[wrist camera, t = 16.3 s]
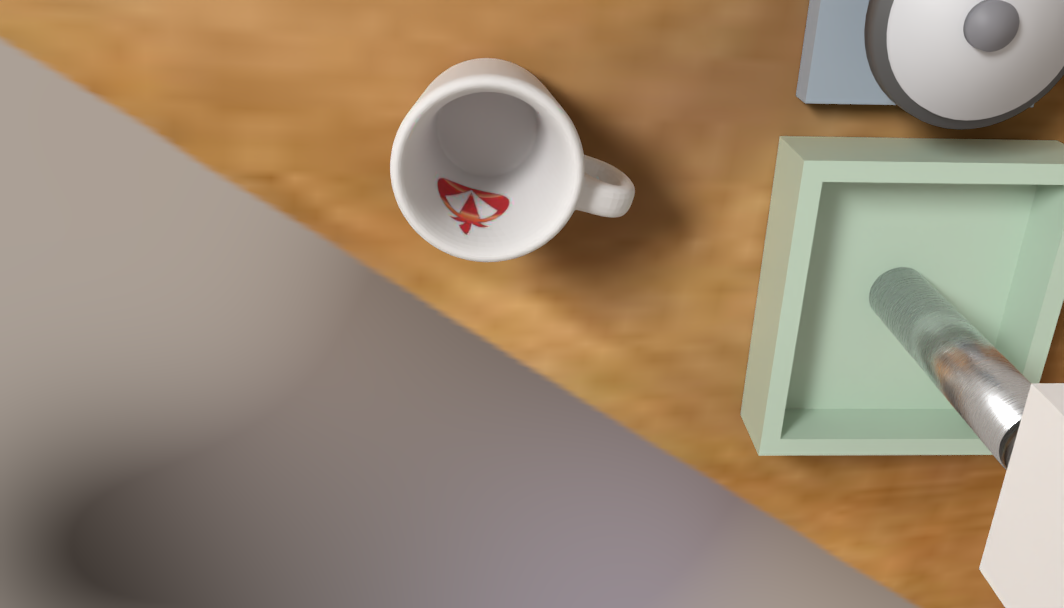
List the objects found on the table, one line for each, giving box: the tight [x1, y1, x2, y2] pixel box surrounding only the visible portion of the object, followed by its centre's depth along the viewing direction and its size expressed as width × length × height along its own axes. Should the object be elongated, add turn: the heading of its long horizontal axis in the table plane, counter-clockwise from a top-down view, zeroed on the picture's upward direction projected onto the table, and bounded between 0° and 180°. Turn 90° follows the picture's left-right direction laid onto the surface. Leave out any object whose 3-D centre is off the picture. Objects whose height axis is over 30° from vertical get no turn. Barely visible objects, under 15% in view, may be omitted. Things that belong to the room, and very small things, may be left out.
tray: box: [741, 136, 1064, 455], centre depth 50 cm, size 16×14×4 cm
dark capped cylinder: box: [869, 267, 1031, 470], centre depth 44 cm, size 3×3×15 cm
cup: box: [390, 58, 635, 262], centre depth 44 cm, size 11×8×8 cm
